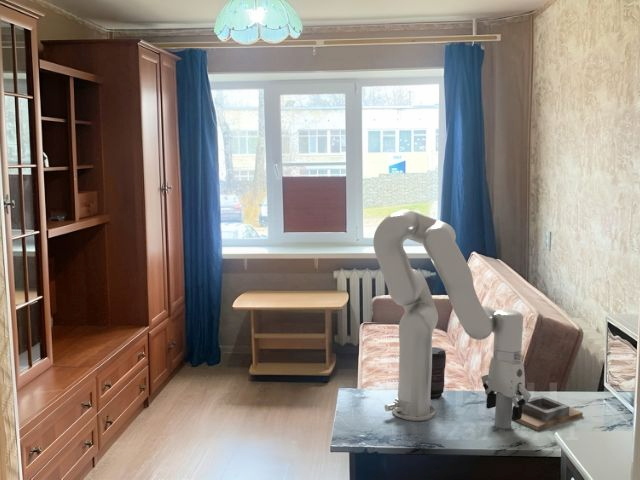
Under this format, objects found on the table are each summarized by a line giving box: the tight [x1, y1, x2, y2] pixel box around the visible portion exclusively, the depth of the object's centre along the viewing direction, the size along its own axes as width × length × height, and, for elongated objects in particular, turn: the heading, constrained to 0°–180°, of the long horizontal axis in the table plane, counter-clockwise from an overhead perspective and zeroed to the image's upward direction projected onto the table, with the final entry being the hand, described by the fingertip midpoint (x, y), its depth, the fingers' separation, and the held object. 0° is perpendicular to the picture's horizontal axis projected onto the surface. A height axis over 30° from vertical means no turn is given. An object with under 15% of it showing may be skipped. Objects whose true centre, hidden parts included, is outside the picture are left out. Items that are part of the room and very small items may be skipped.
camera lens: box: [430, 346, 447, 401], centre depth 214 cm, size 8×8×15 cm
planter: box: [494, 392, 514, 430], centre depth 192 cm, size 4×4×10 cm
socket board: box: [515, 395, 584, 431], centre depth 200 cm, size 20×12×4 cm, turn 122°
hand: (503, 413), depth 192 cm, fingers open, 9 cm apart
